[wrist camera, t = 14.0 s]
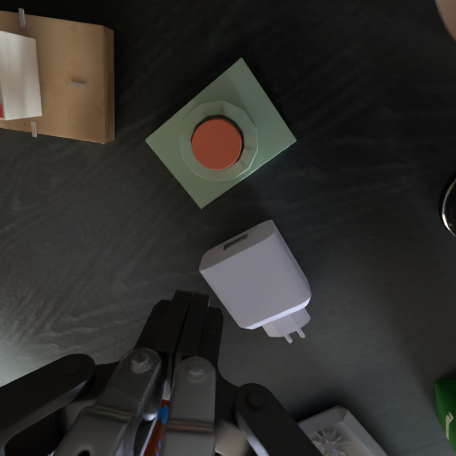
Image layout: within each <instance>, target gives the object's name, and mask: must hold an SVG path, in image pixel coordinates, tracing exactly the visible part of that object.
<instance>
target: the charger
mask: <svg viewBox="0 0 456 456" xmlns="http://www.w3.org/2000/svg"><path fill="white" fill-rule="evenodd" d="M199 271H200V273H201V274H202V275H203V277H204V278H205V280H206V281H207V282H208V284H209V285H210V286H211V288H212V289H213V291H214V292H215V293H216V295H217V296H218V298H219V299H220V300H221V302H222V303H223V305H224V306H225V307H226V309H227V310H228V312H229V313H230V314H231V316H232V317H233V319H234V320H235V321H236V323H237V324H238V325H239V327H241V328H247V329H255V328H257V327H260V326H262V327H263V328H264V330H265V331H266V333H267V334H268V336H270V337H282V336H285V338H286V339H287V341H288V342H289V343H292V339H291V338H290V336H289V335H288V334H289V333H292V332H294V331H297V332H298V333H299V335H300V336H301V338H304V337H305V335H304V333H303V332H302V330H301V328H302V327H303V326H304V325H305V324H306V323H308V322H309V320H310V319H311V318H310V316H309V314H308V313H307V311H306V310H305V308H304V307H305V306H307V304H308V302H309V300H310V298H311V291H310V288H309V284H308V281H307V278H306V277H305V275H304V273H303V272H302V270H301V268H300V266H299V265H298V263H297V261H296V260H295V258H294V256H293V254H292V253H291V251H290V249H289V248H288V246H287V244H286V243H285V241H284V239H283V237H282V236H281V234H280V232H279V231H278V229H277V227H276V226H275V224H274V222H273V220H267V221H265V222H262V223H260V224H258V225H256V226H254V227H252V228H250V229H248V230H247V231H245V232H243V233H241V234H239V235H237V236H235V237H233V238H231V239H229V240H227V241H225V242H223V243H221V244H219V245H218V246H216V247H214V248H212V249H210V250H209V251H207V252H206V253H205V254H204V255H203V256H202V260H201V263H200V266H199Z"/></svg>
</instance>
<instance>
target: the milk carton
mask: <svg viewBox="0 0 456 456" xmlns="http://www.w3.org/2000/svg"><path fill="white" fill-rule="evenodd" d="M435 397H436V416H437V418H438V420H439V422H440V424H441V426H442V428H443V430H444V432H445V434H446V436H447V438H448V440H449V442H450V444H451V446H452V447H453V449H454V451H455V453H456V379H450V380H442V381H435Z"/></svg>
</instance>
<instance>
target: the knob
mask: <svg viewBox="0 0 456 456" xmlns="http://www.w3.org/2000/svg"><path fill="white" fill-rule="evenodd" d="M36 116H42V108H41V96H40V85H39V74H38V62H37V51H36V40H35V38H30V37H26V36H22V35H18V34H13V33H9V32H5V31H1V30H0V119H1V120H12V119H20V118H28V117H36Z"/></svg>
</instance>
